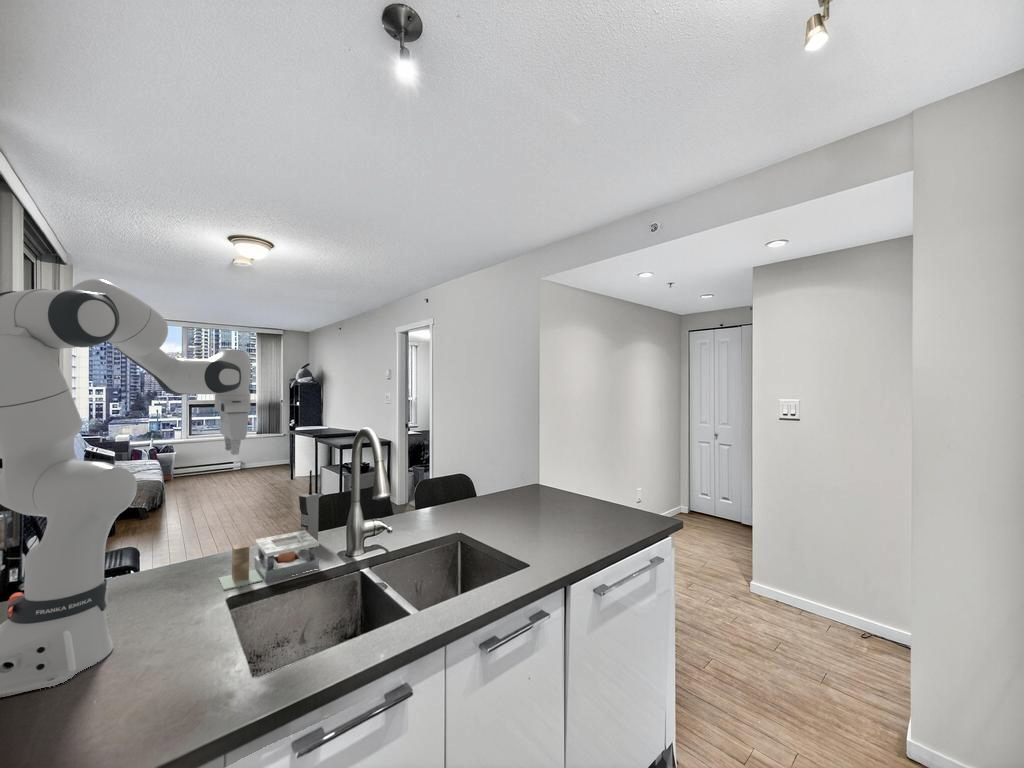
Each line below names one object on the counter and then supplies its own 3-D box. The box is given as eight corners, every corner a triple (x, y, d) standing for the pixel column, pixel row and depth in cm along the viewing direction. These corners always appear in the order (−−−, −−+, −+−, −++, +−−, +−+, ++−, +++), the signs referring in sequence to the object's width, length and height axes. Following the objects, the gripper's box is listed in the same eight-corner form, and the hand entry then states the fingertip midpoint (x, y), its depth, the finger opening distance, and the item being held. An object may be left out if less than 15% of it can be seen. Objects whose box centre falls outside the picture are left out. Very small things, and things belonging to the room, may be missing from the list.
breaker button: (280, 569, 130) (280, 555, 130) (276, 564, 133) (276, 550, 133) (296, 565, 133) (296, 551, 133) (292, 560, 136) (292, 547, 136)
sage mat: (223, 590, 118) (223, 589, 118) (218, 579, 125) (218, 577, 125) (262, 581, 124) (262, 579, 124) (255, 570, 131) (255, 569, 131)
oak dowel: (234, 582, 122) (234, 549, 122) (231, 578, 125) (232, 545, 125) (248, 579, 124) (249, 546, 124) (246, 575, 127) (246, 543, 127)
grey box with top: (265, 582, 123) (266, 553, 123) (254, 566, 134) (254, 539, 134) (318, 569, 132) (319, 542, 132) (304, 555, 143) (304, 530, 143)
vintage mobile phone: (297, 545, 152) (299, 470, 152) (310, 540, 156) (311, 468, 156) (305, 547, 150) (306, 472, 150) (318, 542, 154) (319, 469, 154)
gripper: (214, 403, 137) (213, 448, 137) (225, 406, 122) (225, 458, 122) (238, 403, 141) (237, 447, 141) (252, 406, 126) (251, 455, 126)
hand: (231, 452), depth 131 cm, fingers open, 8 cm apart
